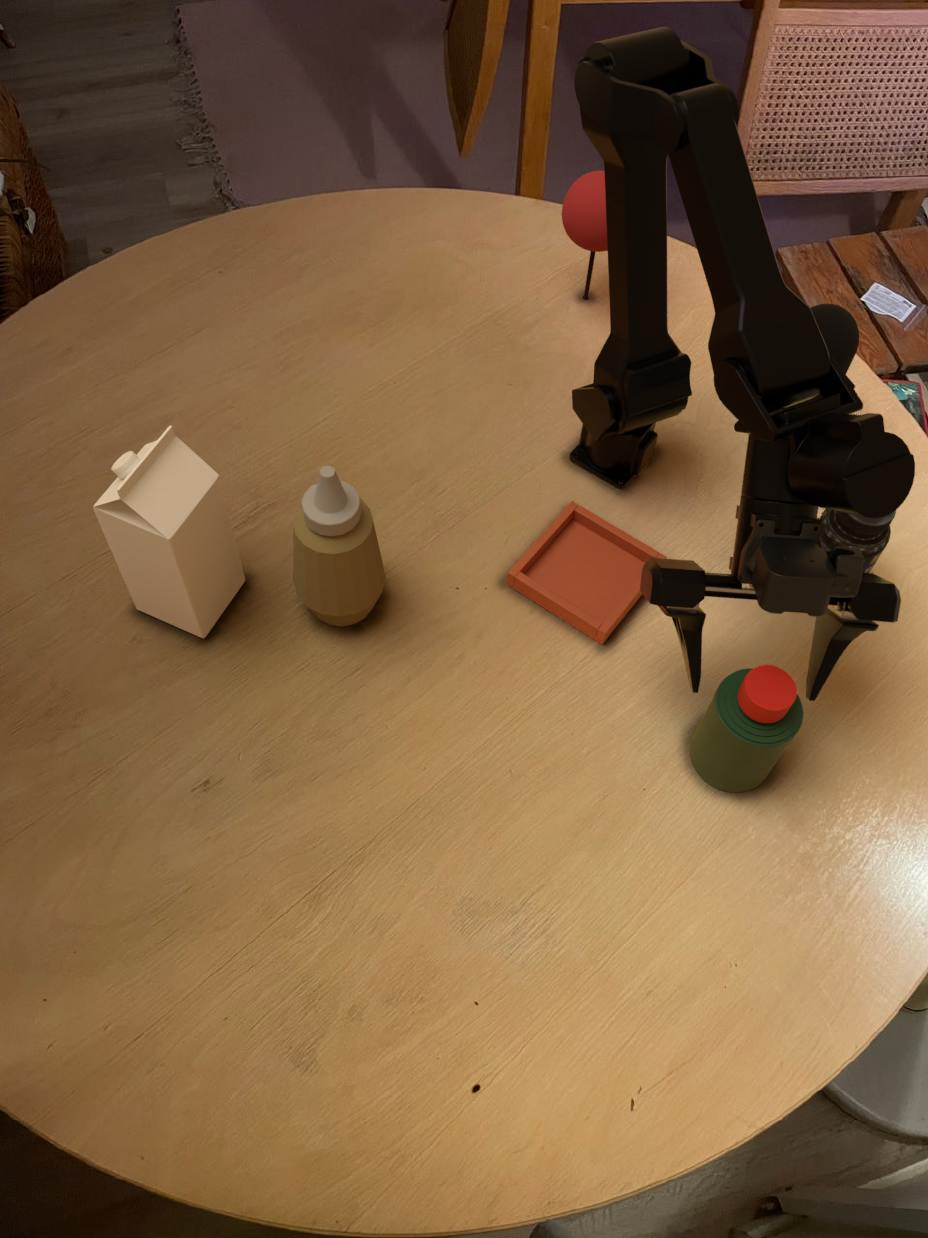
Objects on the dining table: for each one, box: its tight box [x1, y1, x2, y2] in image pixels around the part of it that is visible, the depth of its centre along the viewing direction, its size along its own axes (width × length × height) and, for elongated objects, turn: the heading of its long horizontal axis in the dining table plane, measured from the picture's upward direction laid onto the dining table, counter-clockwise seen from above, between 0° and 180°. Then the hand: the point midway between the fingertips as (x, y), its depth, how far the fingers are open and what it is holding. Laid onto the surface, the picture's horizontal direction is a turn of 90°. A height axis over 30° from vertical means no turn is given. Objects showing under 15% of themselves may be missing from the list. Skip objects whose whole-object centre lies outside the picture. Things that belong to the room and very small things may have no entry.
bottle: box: [689, 667, 804, 793], centre depth 83 cm, size 7×7×12 cm
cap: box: [738, 664, 798, 723], centre depth 78 cm, size 4×4×2 cm
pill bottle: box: [819, 508, 897, 573], centre depth 93 cm, size 6×6×11 cm
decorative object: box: [781, 303, 860, 411], centre depth 101 cm, size 7×7×15 cm
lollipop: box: [561, 170, 608, 301], centre depth 111 cm, size 8×8×15 cm
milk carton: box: [92, 424, 246, 639], centre depth 86 cm, size 7×7×19 cm
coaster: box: [506, 500, 668, 645], centre depth 96 cm, size 11×11×2 cm
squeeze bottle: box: [292, 465, 387, 627], centre depth 87 cm, size 8×8×18 cm
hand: (752, 695), depth 82 cm, fingers open, 9 cm apart
